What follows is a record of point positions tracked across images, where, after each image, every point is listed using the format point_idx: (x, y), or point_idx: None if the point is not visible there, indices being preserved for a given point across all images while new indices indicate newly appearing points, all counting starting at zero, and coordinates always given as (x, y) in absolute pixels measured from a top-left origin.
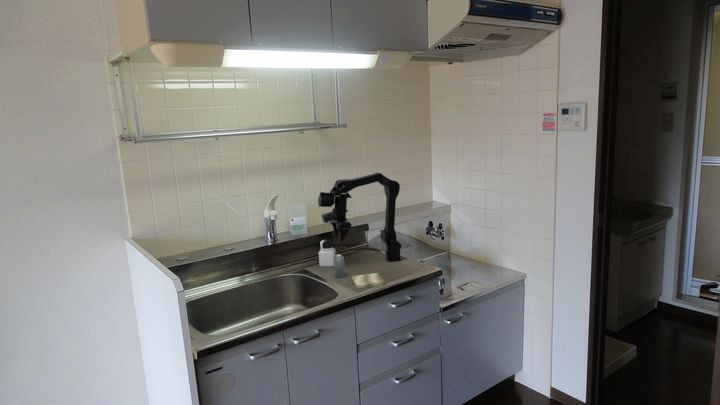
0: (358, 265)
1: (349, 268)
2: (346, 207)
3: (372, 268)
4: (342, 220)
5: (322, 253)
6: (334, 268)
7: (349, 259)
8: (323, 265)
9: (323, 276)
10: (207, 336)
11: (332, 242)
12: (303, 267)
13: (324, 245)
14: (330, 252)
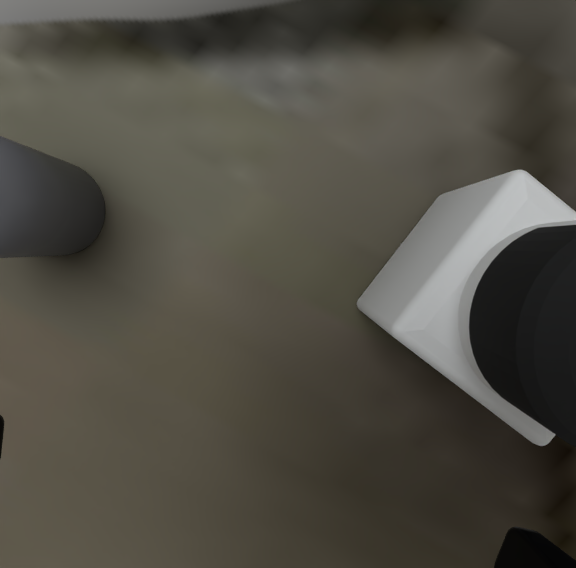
0: (222, 488)
1: (202, 385)
2: None
3: (71, 539)
4: None
5: (477, 212)
6: (21, 144)
7: (427, 511)
8: (417, 223)
9: (160, 88)
10: None
11: (552, 431)
12: (525, 52)
13: (536, 249)
14: (412, 305)
